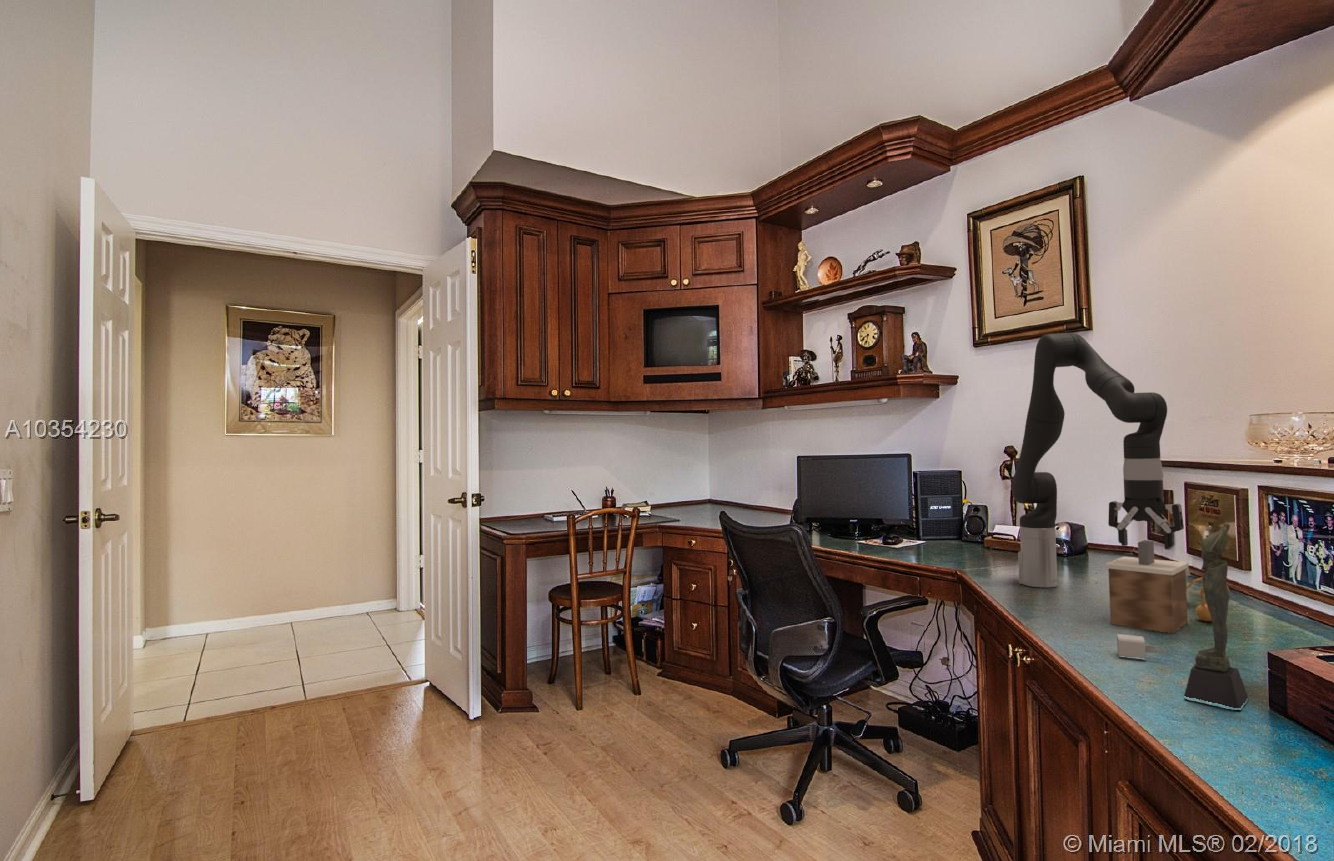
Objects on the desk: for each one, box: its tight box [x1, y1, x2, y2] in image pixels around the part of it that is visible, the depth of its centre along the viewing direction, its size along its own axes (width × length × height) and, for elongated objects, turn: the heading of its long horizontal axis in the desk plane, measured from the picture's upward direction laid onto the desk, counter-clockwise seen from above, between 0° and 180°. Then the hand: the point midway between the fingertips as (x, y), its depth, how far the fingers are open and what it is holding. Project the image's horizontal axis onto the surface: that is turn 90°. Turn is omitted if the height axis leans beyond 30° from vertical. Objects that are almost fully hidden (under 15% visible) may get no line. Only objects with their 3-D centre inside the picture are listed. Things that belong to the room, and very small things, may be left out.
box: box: [1108, 568, 1189, 634], centre depth 158 cm, size 12×12×13 cm
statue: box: [1183, 521, 1249, 708], centre depth 113 cm, size 7×8×30 cm
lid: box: [1104, 539, 1190, 575], centre depth 158 cm, size 13×13×7 cm
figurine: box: [1186, 576, 1231, 622], centre depth 158 cm, size 8×6×12 cm
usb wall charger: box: [1116, 633, 1162, 659], centre depth 135 cm, size 4×7×4 cm, turn 60°
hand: (1145, 547), depth 158 cm, fingers open, 8 cm apart
